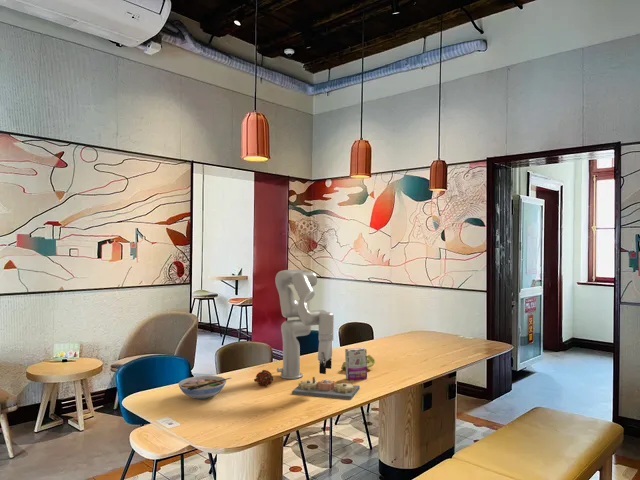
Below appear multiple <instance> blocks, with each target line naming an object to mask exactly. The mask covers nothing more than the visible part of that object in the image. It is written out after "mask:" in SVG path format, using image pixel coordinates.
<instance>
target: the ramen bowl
mask: <svg viewBox="0 0 640 480" xmlns="http://www.w3.org/2000/svg"><path fill="white" fill-rule="evenodd" d="M230 379H231V377H229V378H225V377H222V376H219V375H198V376H192V377H187V378H185V379H182V380H180V381H179V382H178V387H179V389H180V390H181V392H182V393H183V394H185V395H187V396H188V397H190V398H193V399H196V400H206V399H210V398H211V397H213V396H215V395H217V394H218V393H220V391H221V390H222V389H223V388H224V387H225V385H226V383H227V380H230Z"/></svg>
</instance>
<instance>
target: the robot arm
mask: <svg viewBox="0 0 640 480" xmlns="http://www.w3.org/2000/svg"><path fill="white" fill-rule="evenodd" d="M274 279H275V282H274V283H275V287H276V289H277V292H278V295H279V296H278V297H279V304H280V311H281V315H282V317H283V318H285V319H288V320H285V321H284V322H282V323H281V325H280V330H281V337H282V368H281V367H276V372H277V373H280V375H279V376H280V378H281V379H284V380H297V379H298V380H299V379H301V378H302V377H303V373H302V372H301V357H300V356H301V354H300V353H301V352H300V351H301V349H300V348H301V347H300V346H301V345H300V342H299V340H298V337H305V336H308V335H310V334H311V331H312V326H318V349H317V350H318V351H317V360H318V363H319V367H318V368H319V374H321V375H326V373H327V369H329V370H331V369H332V357H333V341H334V324H335V323H334V322H335V321H334V320H335V318H334V313H332V312H330V311H329V312H328V311H326V310H325V309H318V310H310V309H309V307H308V306H309V305H308V304H307V303H308V302H310V301H311V300H313V299H314V297H315V290H314V289H313V287H315V286H317V283H318V277H317V275H316V273H315V272H313V271H312V270H311V271H310V270H306V269H284V270H280V271H278V272H277V273H276V275H275V278H274ZM291 285H293V287H294V289H295V291H296V293H297V295H298V298H299V300H296V298H295V293H294V291H293V289H292V288H291ZM290 318H291V319H290ZM292 318H293V319H292ZM294 318H298V319H294Z"/></svg>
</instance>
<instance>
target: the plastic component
mask: <svg viewBox="0 0 640 480" xmlns="http://www.w3.org/2000/svg"><path fill="white" fill-rule="evenodd" d="M375 364H376V360H375V358H374V357H373V356H372V355H370V354H368V355H367V370H368V369H369V368H372V367H373V366H374V365H375ZM341 370H342V371H346V361H343V363H342V365H341Z"/></svg>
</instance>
